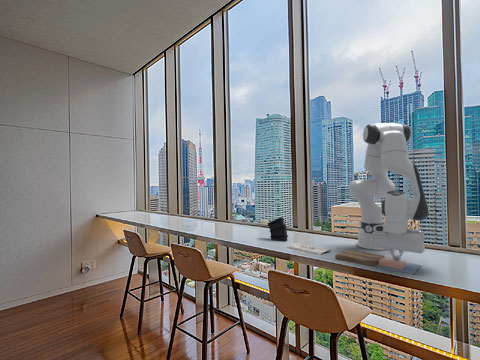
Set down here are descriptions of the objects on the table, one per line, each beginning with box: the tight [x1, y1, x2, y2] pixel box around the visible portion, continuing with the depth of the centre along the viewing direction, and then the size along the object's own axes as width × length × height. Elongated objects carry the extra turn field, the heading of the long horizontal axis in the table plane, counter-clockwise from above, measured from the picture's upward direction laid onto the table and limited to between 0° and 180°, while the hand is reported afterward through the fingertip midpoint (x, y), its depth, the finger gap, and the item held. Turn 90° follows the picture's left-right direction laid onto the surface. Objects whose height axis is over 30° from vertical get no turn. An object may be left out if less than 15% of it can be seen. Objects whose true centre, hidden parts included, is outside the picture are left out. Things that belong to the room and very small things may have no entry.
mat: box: [375, 262, 422, 276], centre depth 117 cm, size 16×14×1 cm
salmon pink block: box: [378, 257, 407, 269], centre depth 118 cm, size 9×6×2 cm, turn 45°
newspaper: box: [286, 242, 332, 256], centre depth 150 cm, size 23×12×2 cm, turn 41°
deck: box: [334, 249, 386, 267], centre depth 129 cm, size 14×18×2 cm
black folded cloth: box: [267, 216, 289, 242], centre depth 175 cm, size 4×13×15 cm, turn 53°
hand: (396, 260), depth 117 cm, fingers closed
